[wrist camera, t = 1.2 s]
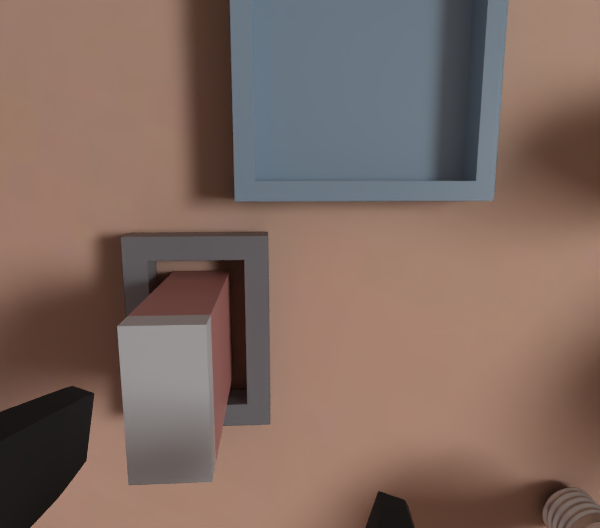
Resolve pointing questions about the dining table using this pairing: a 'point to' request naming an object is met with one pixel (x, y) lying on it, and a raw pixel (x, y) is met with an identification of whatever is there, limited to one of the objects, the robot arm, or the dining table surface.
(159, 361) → the red and grey block
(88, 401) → the robot arm
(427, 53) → the parts tray
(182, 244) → the grey rectangular frame
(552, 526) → the lightbulb
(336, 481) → the dining table surface
